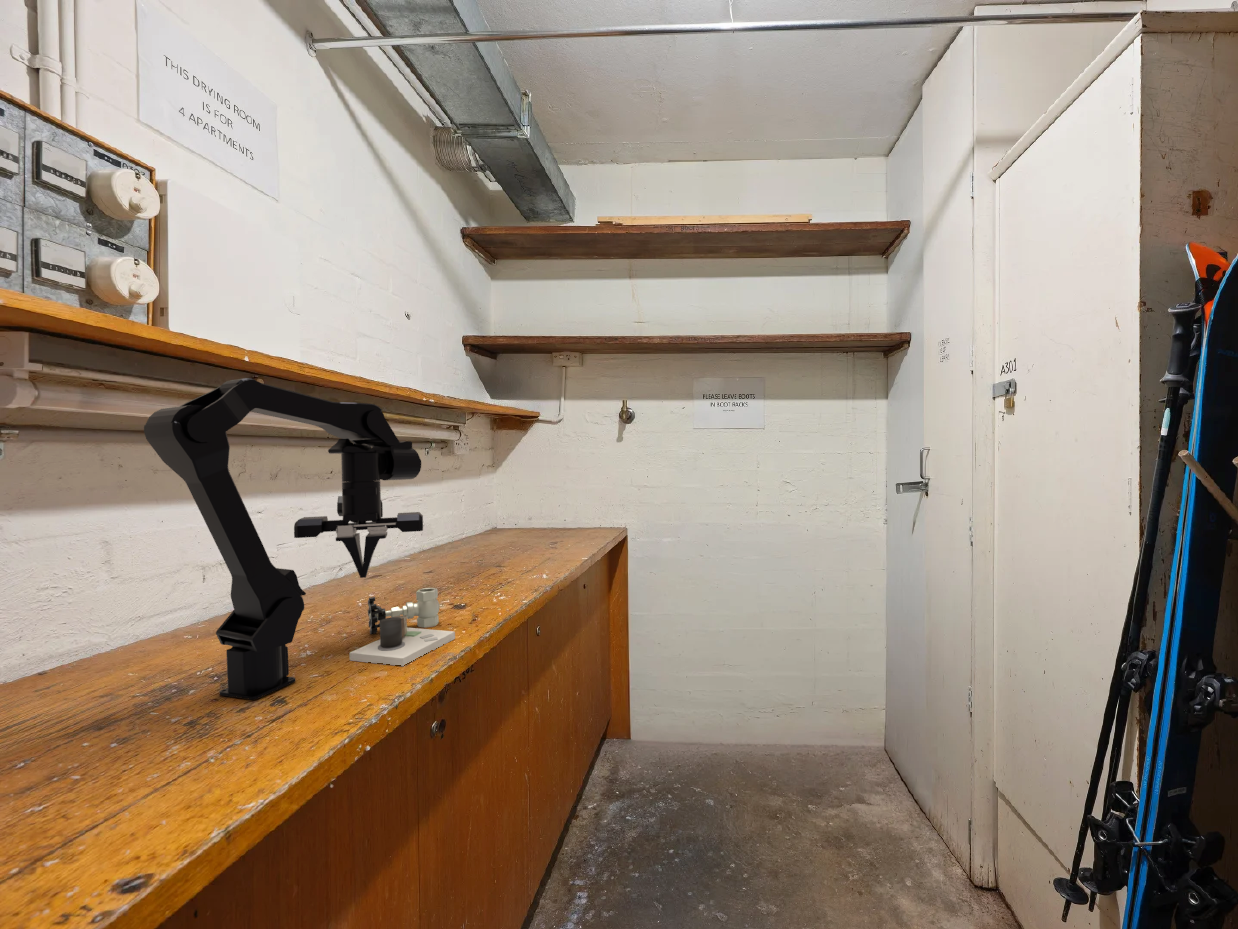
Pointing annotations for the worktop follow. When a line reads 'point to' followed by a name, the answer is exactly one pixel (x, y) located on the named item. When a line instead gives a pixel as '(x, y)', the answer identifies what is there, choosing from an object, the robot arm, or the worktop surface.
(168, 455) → the robot arm
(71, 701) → the worktop surface
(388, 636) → the lever
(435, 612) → the valve
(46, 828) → the worktop surface
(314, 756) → the worktop surface
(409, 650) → the dial board
